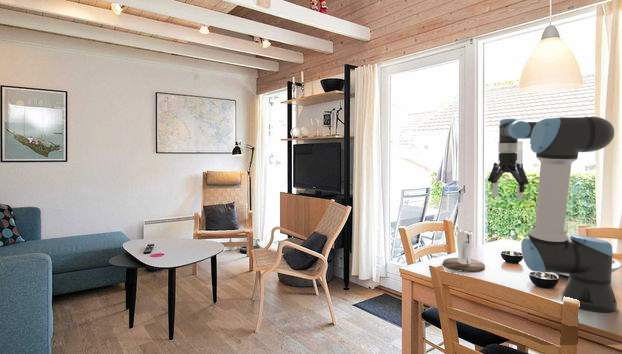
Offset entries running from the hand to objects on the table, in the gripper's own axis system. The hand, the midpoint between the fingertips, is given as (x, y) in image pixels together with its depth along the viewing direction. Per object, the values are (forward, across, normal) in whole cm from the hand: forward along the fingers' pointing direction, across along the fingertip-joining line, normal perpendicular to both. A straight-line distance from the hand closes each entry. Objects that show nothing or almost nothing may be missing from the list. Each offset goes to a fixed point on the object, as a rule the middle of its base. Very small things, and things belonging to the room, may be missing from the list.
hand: (506, 198), depth 170 cm
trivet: (+32, +6, +19) cm, 37 cm away
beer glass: (+31, +6, +19) cm, 36 cm away
